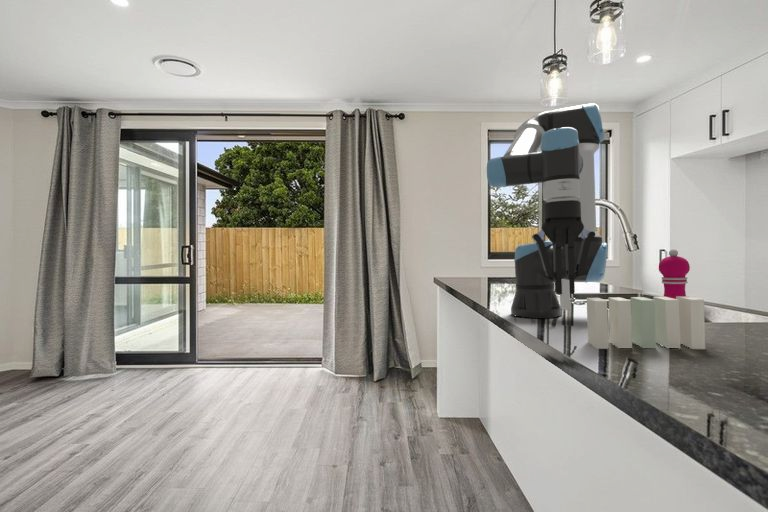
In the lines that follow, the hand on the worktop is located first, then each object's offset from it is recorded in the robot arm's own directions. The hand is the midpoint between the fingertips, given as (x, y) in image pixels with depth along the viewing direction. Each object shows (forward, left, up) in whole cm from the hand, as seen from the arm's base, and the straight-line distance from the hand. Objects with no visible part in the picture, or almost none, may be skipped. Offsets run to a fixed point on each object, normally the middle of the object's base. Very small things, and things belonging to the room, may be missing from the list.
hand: (565, 309), depth 94 cm
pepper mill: (-11, +26, -8) cm, 30 cm away
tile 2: (0, +11, -8) cm, 14 cm away
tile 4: (0, +20, -8) cm, 21 cm away
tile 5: (0, +24, -8) cm, 26 cm away
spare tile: (0, +15, -8) cm, 17 cm away
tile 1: (0, +6, -8) cm, 10 cm away
